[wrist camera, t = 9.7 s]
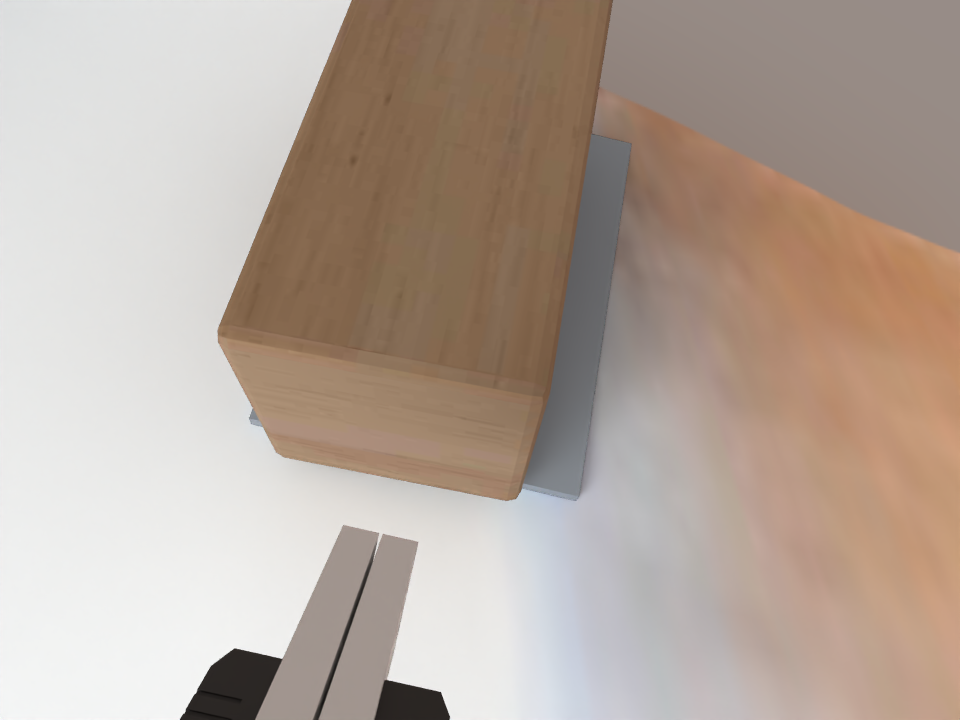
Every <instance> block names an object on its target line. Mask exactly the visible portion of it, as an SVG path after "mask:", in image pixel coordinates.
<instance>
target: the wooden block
mask: <svg viewBox="0 0 960 720" xmlns="http://www.w3.org/2000/svg"><path fill="white" fill-rule="evenodd" d="M612 2H613V0H352V1H351V4H350V6H349V9H348V11H347V14H346V16H345V18H344V21H343V23H342V26H341V28H340V31H339V33H338V36H337V38H336V41H335V43H334V45H333V48H332V50H331V53H330V55H329V58H328V60H327V63H326V65H325V67H324V70H323V72H322V75H321V77H320V80H319V82H318V85H317V87H316V90H315V92H314V94H313V97H312V99H311V102H310V104H309V107H308V109H307V112H306V114H305V117H304V119H303V121H302V124H301V126H300V129H299V131H298V134H297V136H296V139H295V141H294V144H293V146H292V148H291V151H290V153H289V156H288V158H287V161H286V163H285V166H284V168H283V171H282V173H281V175H280V178H279V180H278V183H277V185H276V188H275V190H274V193H273V195H272V198H271V200H270V202H269V205H268V207H267V210H266V212H265V215H264V217H263V220H262V222H261V224H260V227H259V229H258V232H257V234H256V237H255V239H254V242H253V244H252V247H251V249H250V251H249V254H248V256H247V259H246V261H245V264H244V266H243V269H242V271H241V274H240V276H239V278H238V281H237V283H236V286H235V288H234V291H233V293H232V296H231V298H230V301H229V303H228V305H227V308H226V310H225V313H224V315H223V318H222V320H221V323H220V325H219V328H218V343H219V344H220V346H221V348H222V350H223V352H224V354H225V356H226V358H227V360H228V362H229V363H230V365H231V367H232V369H233V371H234V373H235V375H236V377H237V379H238V380H239V382H240V384H241V386H242V388H243V390H244V392H245V394H246V396H247V398H248V399H249V401H250V403H251V405H252V407H253V409H254V411H255V413H256V415H257V417H258V418H259V420H260V422H261V424H262V426H263V428H264V430H265V432H266V434H267V435H268V437H269V439H270V441H271V443H272V445H273V447H274V449H275V451H276V452H277V453H278V454H280V455H281V456H283V457H286V458H291V459H296V460H301V461H306V462H311V463H316V464H321V465H326V466H331V467H337V468H342V469H347V470H352V471H357V472H362V473H367V474H372V475H377V476H382V477H388V478H393V479H398V480H403V481H408V482H413V483H418V484H423V485H428V486H433V487H439V488H444V489H449V490H454V491H459V492H464V493H469V494H474V495H479V496H484V497H490V498H495V499H500V500H505V501H508V500H513V499H516V498H517V496H518V495H519V493H520V492H521V489H522V486H523V483H524V479H525V476H526V472H527V469H528V466H529V462H530V459H531V456H532V452H533V449H534V446H535V442H536V439H537V435H538V432H539V429H540V425H541V422H542V419H543V415H544V412H545V408H546V405H547V402H548V398H549V395H550V390H551V384H552V377H553V371H554V365H555V359H556V352H557V346H558V340H559V334H560V327H561V321H562V315H563V309H564V302H565V296H566V290H567V284H568V277H569V271H570V265H571V258H572V252H573V246H574V240H575V233H576V227H577V221H578V215H579V208H580V202H581V196H582V190H583V183H584V177H585V171H586V165H587V158H588V152H589V146H590V140H591V133H592V127H593V121H594V115H595V108H596V102H597V96H598V90H599V83H600V77H601V71H602V64H603V58H604V52H605V45H606V39H607V33H608V27H609V21H610V15H611V8H612Z"/></svg>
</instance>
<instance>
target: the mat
mask: <svg viewBox="0 0 960 720" xmlns="http://www.w3.org/2000/svg"><path fill="white" fill-rule="evenodd" d="M630 151H631V143H627V142H623V141H619V140H614V139H610V138H606V137H602V136H598V135H594V134H591V140H590V146H589V152H588V158H587V165H586V171H585V177H584V183H583V190H582V196H581V202H580V208H579V215H578V221H577V227H576V233H575V240H574V246H573V252H572V258H571V265H570V271H569V277H568V284H567V290H566V296H565V302H564V309H563V315H562V321H561V327H560V334H559V340H558V346H557V352H556V359H555V365H554V371H553V377H552V384H551V390H550V395H549V398H548V402H547V405H546V408H545V412H544V415H543V419H542V422H541V425H540V429H539V432H538V435H537V439H536V442H535V446H534V449H533V452H532V456H531V459H530V462H529V466H528V469H527V472H526V476H525V479H524V483H523V486H522V488H523V489H528V490H532V491H536V492H540V493H545V494H549V495H553V496H557V497H561V498H566V499H570V500H574V501H576V500H577V499H578V498H579V495H580V488H581V481H582V475H583V468H584V461H585V454H586V448H587V441H588V434H589V427H590V421H591V414H592V407H593V400H594V394H595V387H596V380H597V373H598V367H599V360H600V353H601V347H602V340H603V333H604V326H605V320H606V313H607V306H608V299H609V293H610V286H611V279H612V272H613V266H614V259H615V252H616V245H617V239H618V232H619V225H620V218H621V212H622V205H623V198H624V191H625V185H626V178H627V171H628V164H629V158H630ZM249 420H250V422H251V424H253V425H258V426H262V424H261V422H260V420H259V418H258V417H257V415H256V413H255V411H254V409H253V410H252V412H251V415H250V417H249ZM262 427H263V426H262Z"/></svg>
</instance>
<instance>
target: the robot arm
mask: <svg viewBox="0 0 960 720" xmlns="http://www.w3.org/2000/svg"><path fill="white" fill-rule="evenodd" d="M378 536H379V533H376V532H372V531H367V530H363V529H358V528H354V527H349V526H345V525H343V527H342V529H341V531H340V534H339V536H338V538H337V540H336V543H335V545H334V547H333V549H332V551H331V554H330V556H329V558H328V560H327V562H326V565H325V567H324V569H323V571H322V573H321V576H320V578H319V580H318V582H317V584H316V587H315V589H314V591H313V593H312V596H311V598H310V600H309V602H308V604H307V607H306V609H305V611H304V613H303V615H302V618H301V620H300V622H299V624H298V626H297V629H296V631H295V633H294V635H293V637H292V640H291V642H290V644H289V646H288V648H287V651H286V653H285V655H284V657H283V659H280V658H276V657H271V656H267V655H262V654H258V653H253V652H249V651H244V650H240V649H235V648H234V649H233V650H232V651H230V652H229V653H228V654H226V655H225V656H224V657H222V658H221V659H220V660H218V661H217V662H216V663H214V664H213V665H212V666H211V667H210V669H209V670H208V672H207V674H206V676H205V677H204V679H203V681H202V682H201V684H200V686H199V688H198V689H197V693H196V694H195V695H194V696H193V698H192V700H191V701H190V703H189V705H188V707H187V708H186V712H185V714H183V715H182V717H181V719H180V720H450V716H449V713H448V710H447V708H446V705H445V702H444V699H443V697H442V694H441V692H438V691H433V690H429V689H424V688H420V687H415V686H411V685H406V684H402V683H397V682H393V681H388V680H387V677H388V673H389V669H390V665H391V661H392V657H393V653H394V649H395V644H396V640H397V635H398V631H399V626H400V622H401V618H402V613H403V609H404V604H405V600H406V595H407V591H408V586H409V582H410V577H411V573H412V568H413V564H414V559H415V555H416V550H417V546H418V542H416V541H412V540H407V539H403V538H398V537H394V536H389V535H385V534H383V535H382V538H381V541H380V544H379V547H378V549H377V552H376V555H375V550H376V545H377V540H378ZM374 555H375V558H374ZM373 560H374V561H373Z"/></svg>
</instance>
